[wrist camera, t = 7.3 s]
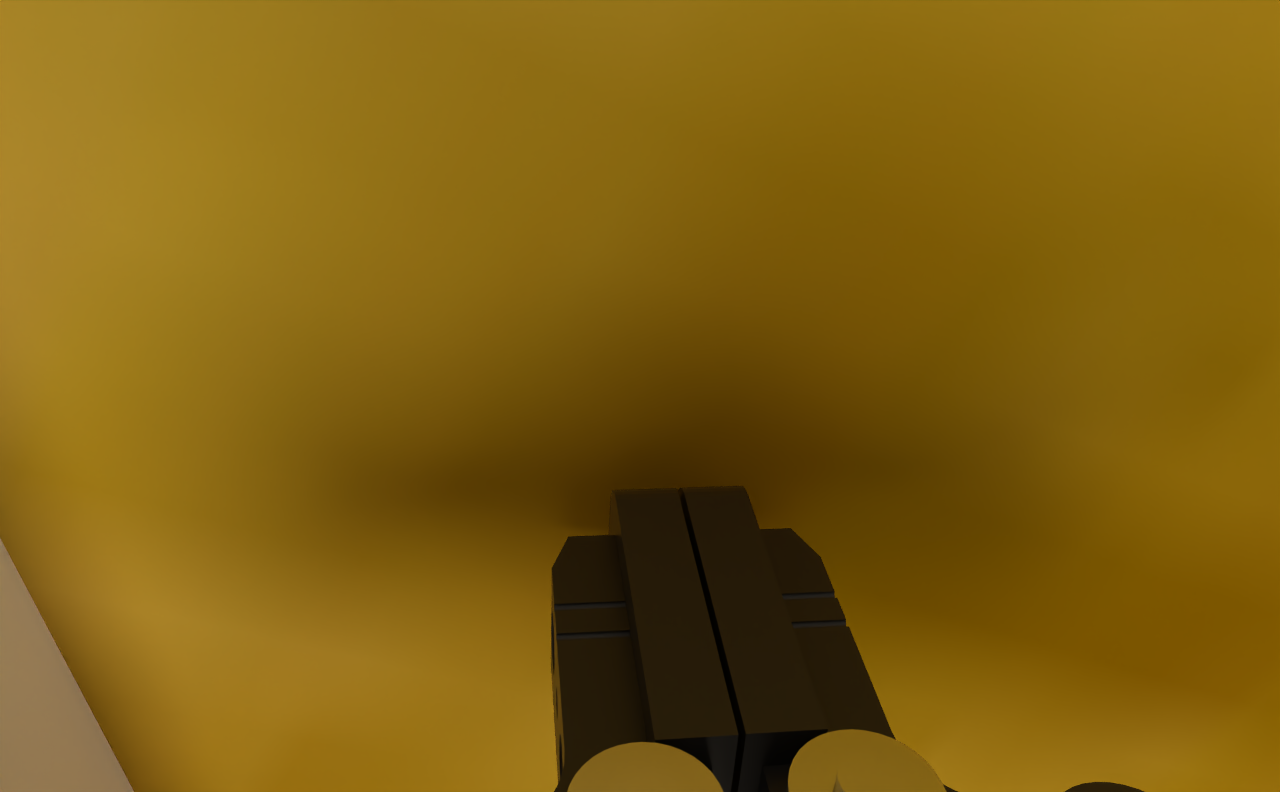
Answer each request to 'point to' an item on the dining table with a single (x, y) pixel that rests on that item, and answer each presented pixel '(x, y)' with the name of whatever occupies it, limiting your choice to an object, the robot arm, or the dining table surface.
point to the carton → (44, 707)
